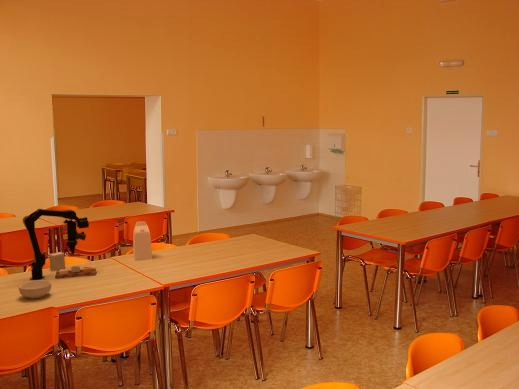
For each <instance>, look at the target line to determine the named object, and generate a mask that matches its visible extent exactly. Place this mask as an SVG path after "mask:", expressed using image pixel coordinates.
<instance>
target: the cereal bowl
mask: <svg viewBox="0 0 519 389" xmlns="http://www.w3.org/2000/svg"><path fill="white" fill-rule="evenodd" d="M51 290H52V282H51V281H50V280H46V279H40V280H30V281H25V282H22V283H21V284H19V285H18V291H19V294H20V295H21V296H22V297H25V298H28V299H32V300H35V299H39V298H43V297H44V296H46V295H47V294H48V293H50V292H51Z"/></svg>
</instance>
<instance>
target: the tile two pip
mask: <svg viewBox="0 0 519 389" xmlns="http://www.w3.org/2000/svg"><path fill="white" fill-rule="evenodd" d="M70 270H71V273H73V272H80V270H81V265H77V266H76V265H75V266H71V268H70Z"/></svg>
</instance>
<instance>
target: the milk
mask: <svg viewBox="0 0 519 389" xmlns="http://www.w3.org/2000/svg"><path fill="white" fill-rule="evenodd" d="M132 235H133V236H132V237H133V238H132V239H133V240H132V242H133V244H132V245H133V246H132V247H133V251H132V253H133V256H132V257H133V259H134V261H144V260H146V261H147V260H153V250H152V249H153V248H152V240H151V239H152V236H151V232H150V229H149V226H148V224H147V222H146V221H136V223H135V226H134V228H133V232H132Z"/></svg>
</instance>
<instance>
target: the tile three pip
mask: <svg viewBox="0 0 519 389" xmlns="http://www.w3.org/2000/svg"><path fill="white" fill-rule="evenodd" d="M92 268H93V267H92V266H84V267H82V269H83V272H92Z"/></svg>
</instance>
